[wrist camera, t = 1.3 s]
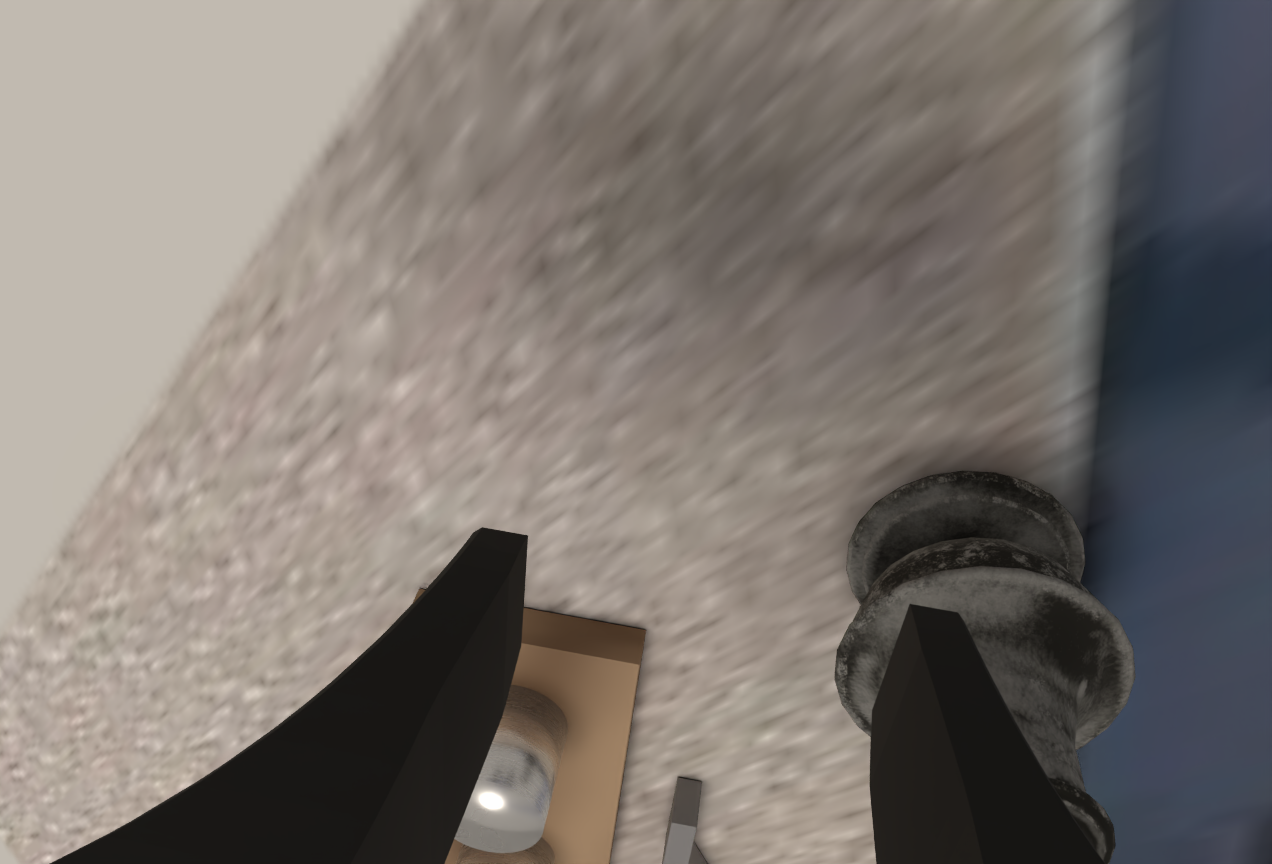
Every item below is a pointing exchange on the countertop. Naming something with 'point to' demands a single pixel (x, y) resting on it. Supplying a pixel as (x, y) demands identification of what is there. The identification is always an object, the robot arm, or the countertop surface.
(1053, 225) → the countertop surface
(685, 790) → the segmented grey arc
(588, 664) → the pin board
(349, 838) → the robot arm
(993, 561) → the grey stone tall piece
